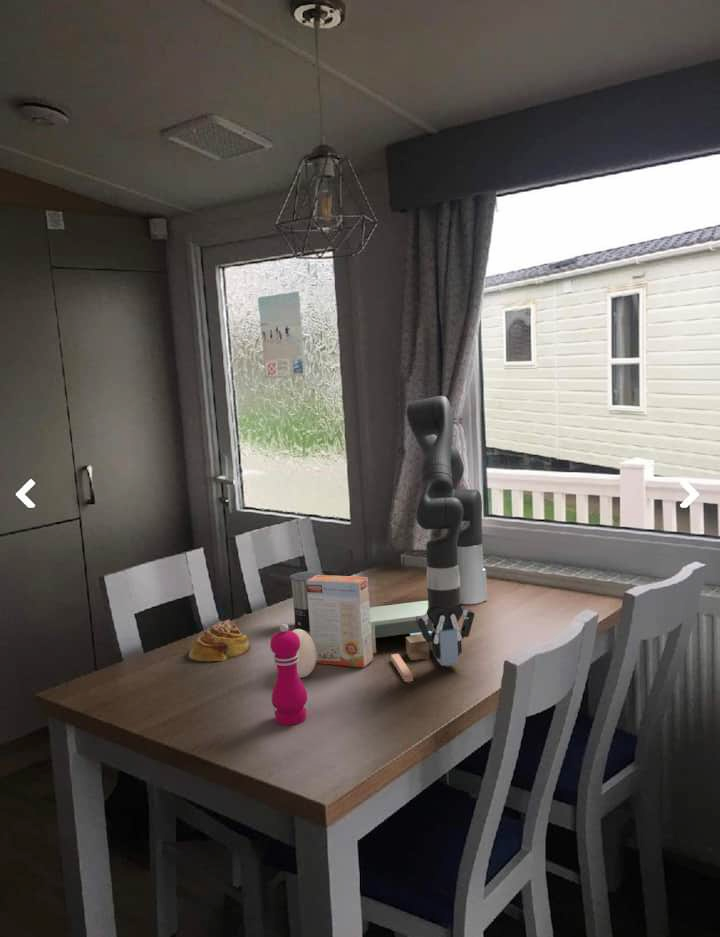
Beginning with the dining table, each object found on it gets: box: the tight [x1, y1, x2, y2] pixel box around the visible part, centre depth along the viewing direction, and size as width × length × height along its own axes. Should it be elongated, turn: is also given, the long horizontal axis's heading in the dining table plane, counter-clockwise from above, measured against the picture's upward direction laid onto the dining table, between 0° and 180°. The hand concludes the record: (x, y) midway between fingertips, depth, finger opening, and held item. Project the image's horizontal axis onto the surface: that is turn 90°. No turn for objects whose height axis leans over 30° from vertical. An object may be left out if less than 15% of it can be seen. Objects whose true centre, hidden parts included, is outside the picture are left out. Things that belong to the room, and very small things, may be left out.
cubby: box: [370, 599, 433, 654], centre depth 206 cm, size 22×12×8 cm, turn 102°
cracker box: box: [306, 574, 374, 668], centre depth 193 cm, size 14×6×21 cm, turn 65°
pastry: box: [188, 619, 251, 662], centre depth 206 cm, size 13×15×8 cm
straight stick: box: [390, 653, 414, 683], centre depth 185 cm, size 2×14×2 cm, turn 10°
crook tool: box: [409, 627, 459, 666], centre depth 190 cm, size 16×7×8 cm, turn 12°
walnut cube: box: [405, 635, 431, 661], centre depth 194 cm, size 4×4×4 cm
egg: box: [291, 628, 317, 679], centre depth 185 cm, size 8×8×11 cm
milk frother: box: [289, 570, 324, 632], centre depth 224 cm, size 14×16×15 cm
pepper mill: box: [270, 623, 308, 726], centre depth 162 cm, size 7×7×20 cm
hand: (447, 656), depth 185 cm, fingers closed on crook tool, 4 cm apart
